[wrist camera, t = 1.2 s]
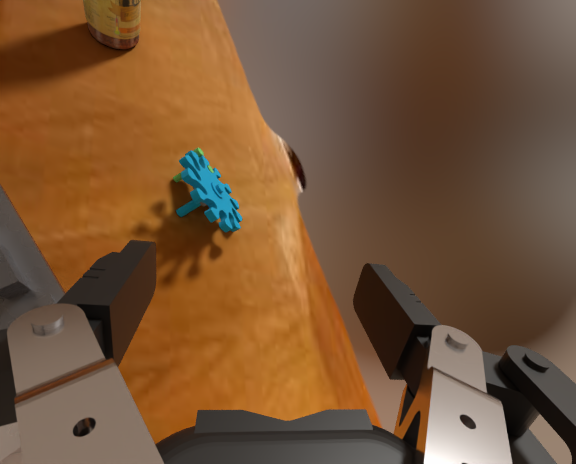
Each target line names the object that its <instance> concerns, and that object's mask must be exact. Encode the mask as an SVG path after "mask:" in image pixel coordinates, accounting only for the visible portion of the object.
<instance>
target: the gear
mask: <svg viewBox="0 0 576 464" xmlns="http://www.w3.org/2000/svg"><path fill="white" fill-rule="evenodd" d="M203 155H204V154H203V152H202V150H201V149H200V148H197V149H195V150H194V151H189V152H188V153H186V154H185V157H183V158H181V159H180V160H179V162H180V164H181V165H182V166H183V167H184V168H185V170H184V171H182V172H181V173H179V174H178V175H176V176H174V177H173V179H174V181H175V182H179V181H180V180H182V179H183V180H184V181H185V182H186V183H188V184H190V185H191V186H193V188H194V190H193V191H191V192H190V195H191V197H192V199H193V200H192V201H190V202H188V203H187V204H185V205H183V206H182V207H180V208H178V209H177V210H176V212H177V214H178V215H179V216H180V217H183V216H184V215H186V214H188V213H189V212H191V211H193V210H194V209H196V208H198V207H199V206H201V205H202V206H206V205H208V207H209V208H210V209H208V210H206V211H205V212H204V214H205V215H206V217H207V218H208V220H209V221H210V222H211V223H212V222H214V221H215V220H217V219H219V217H220V219H221V222H219V227H220V228H221V229H222V230H223V231H224V232H228V231H230V230H231V231H232V232H234V231H236V230H238V229H240V228H241V227H240V225H239V222H241V221H242V217H241V215H240V214H239V213H238V212H237V211H236V210H237V209H239V205H238V202H237V201H236V200H235V199H233V198H231V197H230V196H229V194H230V193H231V192H232V191H231V189H230V187H229V185H228V184H223V183H221V182H220V181H219V180H218V178H220V177H221V175H220V173H219V172H218V170H217V169H216V168H214V169H212V168H211V167H210V166H209V162H208V160H207V159H206V158H205V157H204V156H203Z"/></svg>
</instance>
